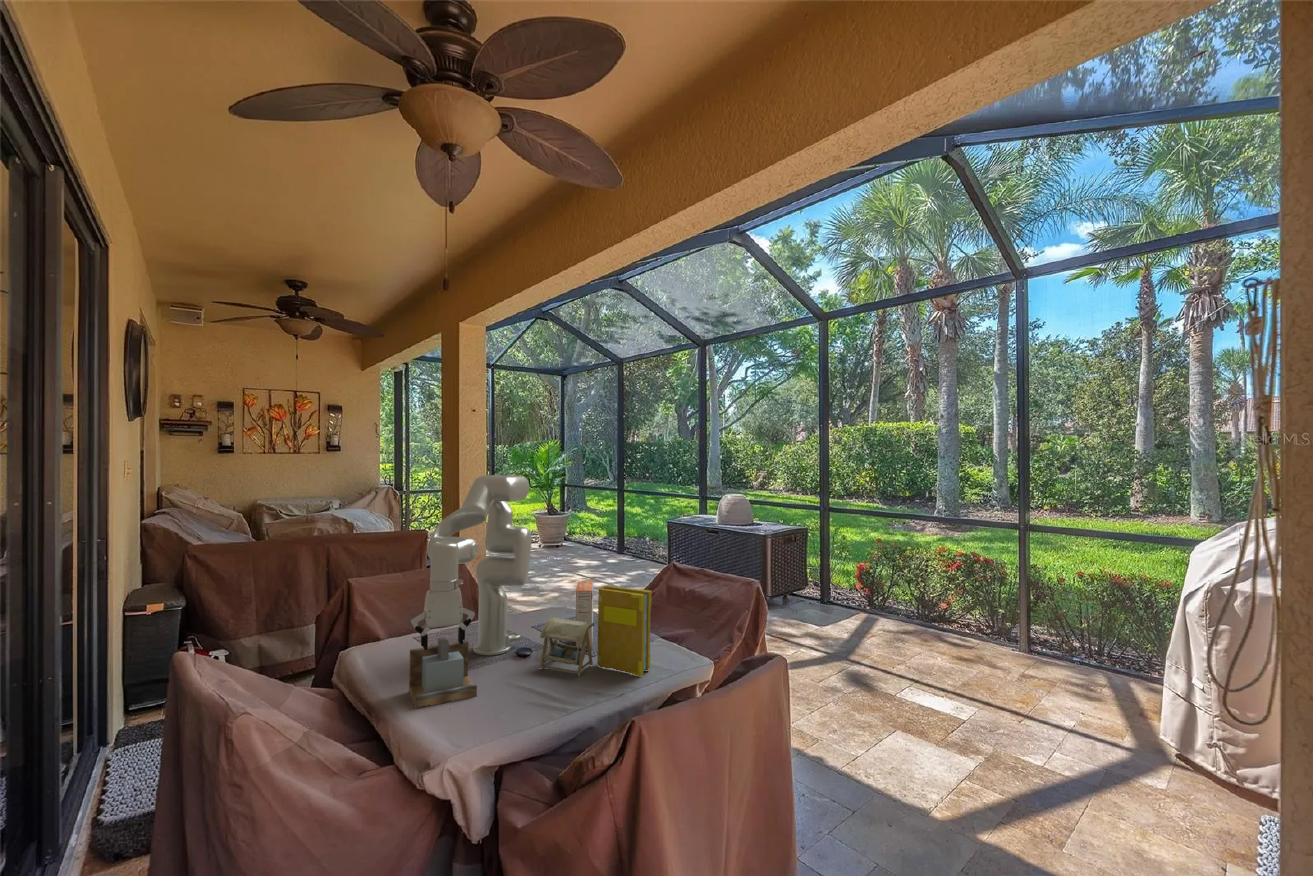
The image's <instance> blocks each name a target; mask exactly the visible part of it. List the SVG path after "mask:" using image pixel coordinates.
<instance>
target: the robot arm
mask: <svg viewBox="0 0 1313 876" xmlns="http://www.w3.org/2000/svg"><path fill="white" fill-rule="evenodd" d="M529 491H530V482H529V480H528V478H526V476H524V475H504V474H503V475H502V474H498V475H497V474H492V475H491V474H490V475H481V476H477V478H476V479H475V480H474V481H473V482H472V484H471V486H470V489H469V491H468V493H467V494H466V497H465V499H464V501H463V503H462V505H461V507H460V508H459V509H457V510H454V511H453V512H452V513H450V514H449V515H448V516H447V517H445V518H443V520H441V521H440V522H438V524H437V525H436V527H435V528H434V530H433V532H432V534H431V536H430V538H429V541H428V544H427V548H426V550H427V551H426V552H427V553H426V554H427V556H428V558H429V559H430V576H429V577H430V578H429V582H430V584H429V590H427V591H426V594H425V598H424V608H423V612H422V613H420V614H419V615H417V616H415V617H413V618H412V619H411V620H410V623H411V625H412V627H413V628H414V630H415V631H416V632H417V633H418V634H419V635H420V646H421V647H420V648H424V650H427V649H428V647H429V643H428V641H429V635H428V634H427V633H428V632H430V630H431V629H435V628H442V627H451V626H457V625H458V626H459V627H458V628H457V629H458V630H457V631H458V632H457V642H459V643H460V644H463V641H466V630H467V627H468V626H469V625H470V624H471V623H472V621H473V619H474V617H475V615H476V613H475V612H474V611H473V610H470V609H468V608H465V607H463V596H462V592H461V588H460V585H463V584H464V579H463V578H462V579H460V578H459V564H460V565H461V564H467V563H470V562H472V561H473V560H475V558H476V556H477V555H478V551H479V545H478V543H477V540H475V539H473V538H472V537H465V536H453V535H454V534H456V533H458V532H461V531H464V530H466V529H470V528H472V527H475V526H478V525H480V524H483V523H484V522H485V521H486V519H487V524H486V530H485V537H484V548H485V550H486V551H487V552H489V553H492V554H504V555H505V554H506V555H514V557H500V556H498V557H497V556H496V557H495V556H489V557H488V556H487V557H484V558H482V559H481V560H480V561H478V563H477V566H476V567H475V568H476V570H475V571H476V579H477V587H478V620H477V621H478V622H477V623H478V626H477V627H478V628H477V631H478V632H477V643H476V644H474V645H473V646H472V647H473V648H472V649H473V650H472V651H473V652H474V653H475V654H476V655H479V656H496V655H501V654H505V653H507V652H509V651H510V650H511V649H512V644H511V643H513V642H520V641H521V635H520V634H516V635H515V634H510V635H509V634H508V631H507V630H508V595H507V592H506V591H505V589H504V588H503V587H522V586H524V585H525V584H526V582H527V580H528V575H529V572H530V571H529V569H530V561H531V560H530V559H531V551H532V549H531V548H532V535H531V532H530V530H529V529H528V528H527V527H525V526H514V525H513V519H514V513H513V508H512V507H511V505H510V504H509V503H508V502H518V501H523V500H524V499H526V498H527V497H528V494H529ZM464 614H465V615H468V616H467V618H466V619H465V620H464V621H463V619H464ZM422 620H423V623H424V625H423V626H422V627H421V626H420V625H419V622H421V621H422Z"/></svg>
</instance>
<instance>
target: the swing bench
mask: <svg viewBox="0 0 1313 876" xmlns="http://www.w3.org/2000/svg"><path fill="white" fill-rule="evenodd" d="M592 626H593V627H595V623H594V622H593V623H589V622H580V621H576V620H571V619H565V618H560V617H551V618H549V619H548V620H547V621H546V623H545V624H544V626H543V628H542V630H541V631H540V632H541V633H540V636H539V637H540V639H543V646H542V652H541V657H540V658H541V659H540V663H539V669H540V668H543V669H545V668H548V669H547V670H551V669H554V670H553V671H557V670H559V672H563V671H564V673H568V672H569V673H570V674H574V673H576V674H575V675H577V674H578V675H579V674H581V675H582V670H583V669H585V668H586V667H588V665H589V666H590V665H593V666H594V662H593V655H592V650H591V646H590V640H589V633H588V629H589V628H590V627H592ZM560 640H561V641H565V642H572V643H576V642H578V643H579V644H582V647H579V644H578V647H576V645H568V644H565V643H561V642H558V641H560ZM586 643H587V645H585V644H586ZM549 644H550V645H549ZM548 646H549V647H550V650H549V651H550V652H549V654H547V652H548ZM587 649H588V650H587ZM586 653H587V655H588V661H587V662H586V663H585V664H584V659H585V657H586ZM548 661H552V662H557V663H559V664H560V663H561V664H564V665H565V664H566V665H575V666H578V668H577V670H571V669H566V668H559V667H554V666H548V665H545V663H546V662H548ZM569 673H568V674H569Z"/></svg>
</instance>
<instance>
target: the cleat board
mask: <svg viewBox="0 0 1313 876" xmlns="http://www.w3.org/2000/svg"><path fill="white" fill-rule="evenodd" d="M454 651H459V652H460V654H461V655H462V656H463V658H464V679H463V686H462V687H457V688H452V689H447V690H442V691H437V692H431V693H425V691H424V689H423V687H422V657H423V656H429V655H435V654H438V644H437V645H432V646H428V649H427V650H424V648H423V647H419V648H412V649H409V669H408V671H409V675H408V676H409V677H408V678H409V679H408V680H409V681H408V683H409V684H408V685H409V686H408V693H409V692H410V693H409V695H410V697H412V698H411V699H412V702H414V703H413V704H414V707H415V706H416V707H415V709H418V708H417V707H421V708H423V707H422V706H426V707H428V706H427V705H431V706H434V705H435V704H436V705H440V703H441V704H445V703H449V702H448V701H450V702H453V701H452V700H455V701H458V700H459V701H460V700H464V699H469V698H474V697H477V696H478V694H477V693H478V685H477V683H473V681H472V680H471V678H470V677H469V641H468V640H463V644H460V643H459V642H458V641H456V642H449V652H454ZM444 702H445V703H444Z"/></svg>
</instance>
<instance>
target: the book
mask: <svg viewBox="0 0 1313 876" xmlns="http://www.w3.org/2000/svg"><path fill="white" fill-rule="evenodd" d="M597 594H598V602H597V603H598V605H597V610H598V611H597V663H596V664H598V665H599V666H600V667H605V668H613V669H616V670H620V671H625V672H629V673H632V674H635V675H638V676H642V675H643V674H644V672H645V671H644V670H648V669H649V668H650V669H651V613H652V612H651V607H652V590H648V589H638V588H628V587H622V586H621V587H620V586H613V585H603V586H602V585H601V586H599V587H598V593H597ZM643 676H644V675H643ZM643 676H642V677H643Z"/></svg>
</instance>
